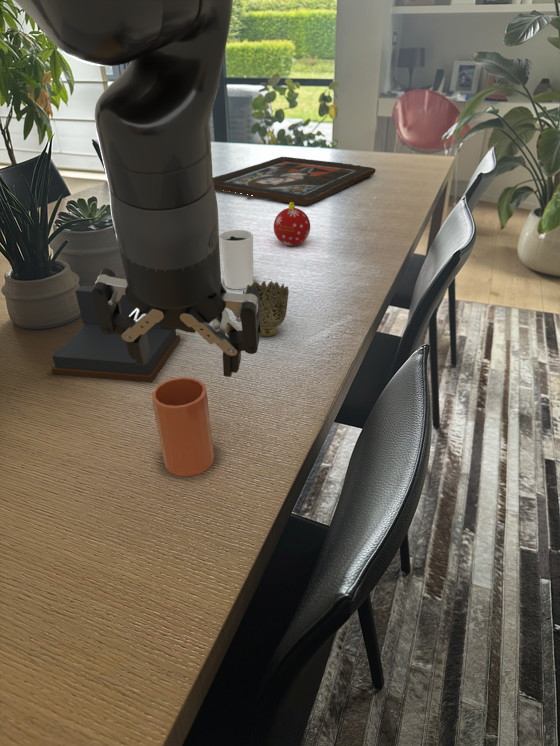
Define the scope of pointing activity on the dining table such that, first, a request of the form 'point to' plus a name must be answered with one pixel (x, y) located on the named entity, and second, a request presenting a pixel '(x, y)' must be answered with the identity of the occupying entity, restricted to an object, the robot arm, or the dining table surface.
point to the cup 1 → (184, 425)
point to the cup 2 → (271, 306)
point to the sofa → (110, 347)
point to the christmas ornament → (291, 226)
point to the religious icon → (292, 179)
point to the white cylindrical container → (237, 258)
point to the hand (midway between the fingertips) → (186, 363)
